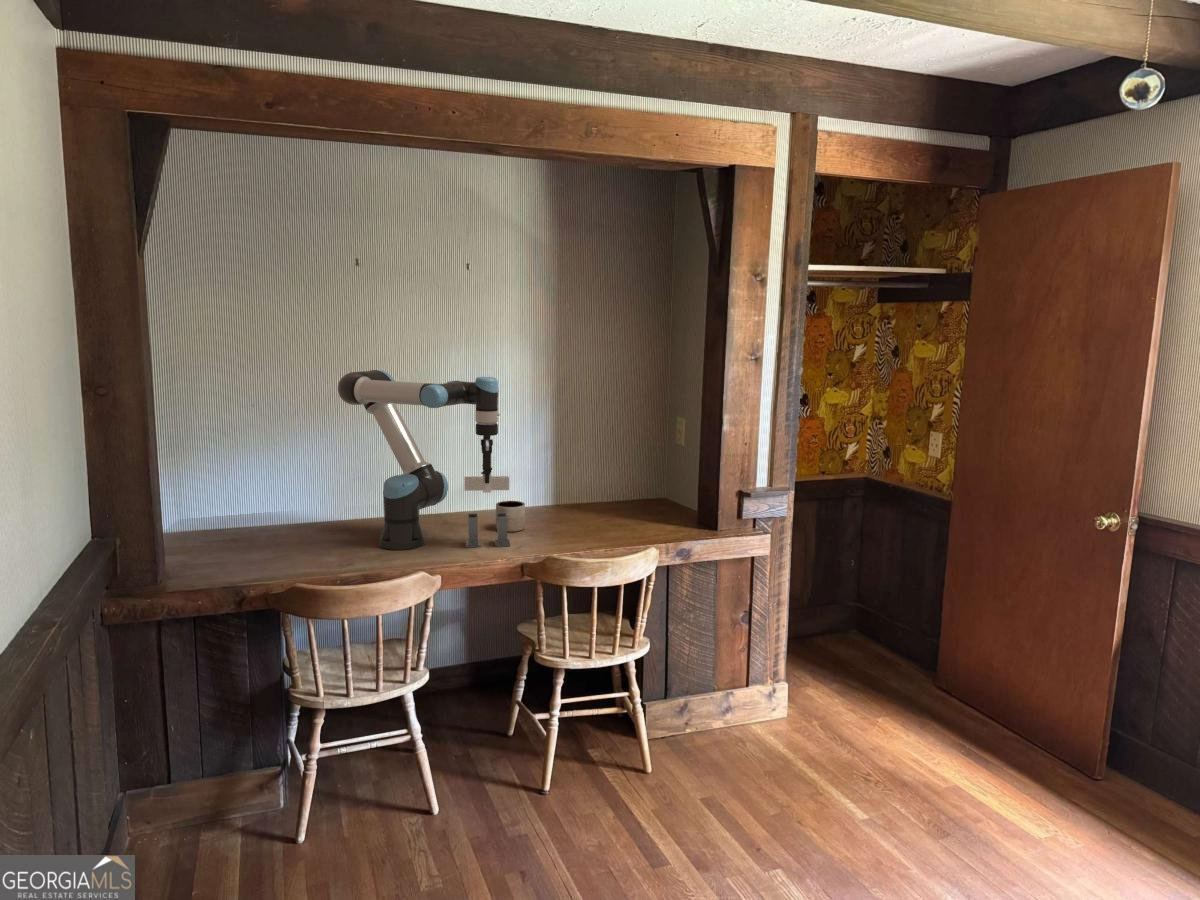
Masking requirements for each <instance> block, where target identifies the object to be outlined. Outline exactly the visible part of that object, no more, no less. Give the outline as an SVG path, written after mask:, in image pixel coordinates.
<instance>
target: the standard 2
mask: <svg viewBox="0 0 1200 900" xmlns="http://www.w3.org/2000/svg"><path fill="white" fill-rule="evenodd" d="M497 524H498V530H497V538H496V539H494V545H495V546H494V547H495V548H509V547H511V542H510V539H509V538H508V532H507V517H506V513H497Z"/></svg>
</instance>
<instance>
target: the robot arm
mask: <svg viewBox="0 0 1200 900" xmlns="http://www.w3.org/2000/svg"><path fill="white" fill-rule="evenodd" d="M498 380H499V379H497V378H496V377H495V376H494V377H493V376H477V377H476V378H475V381H474V382H473V381H472V382H471V381H470V382H469V381H460V380H448V381H447V382H445V383H430V382H428V383H427V382H411V381H396V380H395V379H394V377H393V376H392V375H391V374H390V373H389V372H387V371H384V370H378V369H371V370H366V371H365V370H364V371H362V370H361V371H350V372H349V373H346V374H344V375H343V376H342V377H341V378H340V380H339V381H338V383H337V384H338V385H337V393H338V396H339V397H340V399H342V401H343V402H345V403H346V404H348V405H351V406H352V405H353V406H360V405H362V406H363V408H364V409H365V412H366V413H367V414H371V415H373V417H374V419H375V421H376V422H377V424H378V426H379V429H380V431H381V432H382V434H383V436H384V438H385V440H386V442H387V445H388V446H389V447H390V449H391V452H392V454H393V456H394V458H395V459H396V461H397V463H398V465H399V467H400V468H401V470H402V472H403V473H402V474H399V475H398V474H396V475H392V476H390V477H389V478H387V479H385V480H384V482H383V490H382V495H383V516H384V517H383V518H384V520H383V521H384V523H383V527H382V531H381V534H380V536H379V547H381V548H383V549H386V550H393V551H407V550H412V549H413V550H414V549H417V548H420V547H422V546H424V545H425V544H426V538H425V537H426V536H425V533H424V531H423V528H422V525H421V522H420V510H422V509H425V508H429V507H432V506H435V505H438V504H439V503H442V501H444V500H445V498H446V497H447V495H448V491H449V483H448V479H447V477H446V476H445V475H444V474H443V472H441V471H439V470H435V468H434V467H433V464H432V463H431V462H428V461H426V460H425V459H424V457H423V455H422V453H421V451H420V449H419V447H418V445H417V443H416V441H415V439H414V438H413V435H412V434H411V431H410V430H409V428H408V426H407V424H406V422H405V420H404V418H403V416H402V415H401V412H400V410H399V409H398V407H397V405H412V406H424V407H427V408H428V409H438V408H443V407H447V406H449V407H450V406H455V405H461V404H462V405H464V404H465V405H473V406H474V405H475V417H474V419H475V420H474V421H475V423H476V424H475V434H476V435H477V436H480V437H481V436H482V437H483V438H481V439H480V446H481V453H482V465H481V466H482V471H481V472H480V474H481V475H482V477H483V490H482V493H487V494H488V493H490V494H491V493H492V490H491V476H492V470H493V467H492V453H493V445H494V440H493V439H491V437H492V436H496V435H497V436H498V434H499V424H498V422H499V416H501V414H500V413H499V408H498V407H499V392H500V391H499V381H498Z"/></svg>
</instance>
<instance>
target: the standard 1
mask: <svg viewBox="0 0 1200 900" xmlns="http://www.w3.org/2000/svg"><path fill="white" fill-rule="evenodd" d="M467 515H468V516H467V518H468V539H467V540H465V549H478V548H477V547H482V545H481V539H479V536H478V535H479V531H478V527H479V525H478V523H479V522H478V513H476V512H475V513H474V512H472V513H470V512H469V513H467Z"/></svg>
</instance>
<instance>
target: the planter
mask: <svg viewBox="0 0 1200 900" xmlns="http://www.w3.org/2000/svg"><path fill="white" fill-rule="evenodd" d="M525 504H526V503H525V502H522V501H519V500H502V501H499V502H496V503H495V529H496V530H497V531H498V524H497V513H506V517H507V533H518V532H520V531H524V530H525V528H526V505H525Z"/></svg>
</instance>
